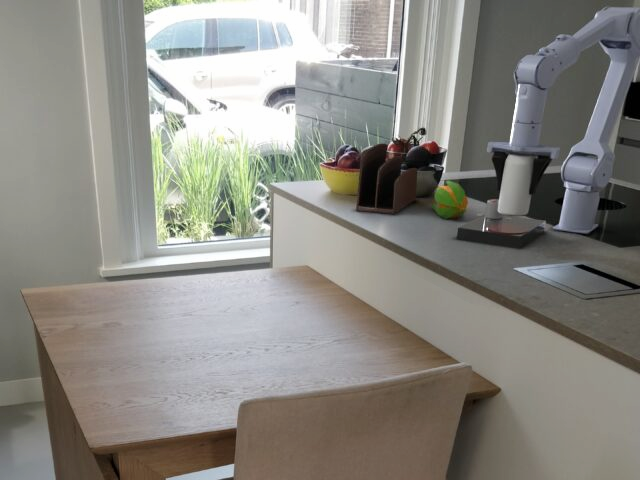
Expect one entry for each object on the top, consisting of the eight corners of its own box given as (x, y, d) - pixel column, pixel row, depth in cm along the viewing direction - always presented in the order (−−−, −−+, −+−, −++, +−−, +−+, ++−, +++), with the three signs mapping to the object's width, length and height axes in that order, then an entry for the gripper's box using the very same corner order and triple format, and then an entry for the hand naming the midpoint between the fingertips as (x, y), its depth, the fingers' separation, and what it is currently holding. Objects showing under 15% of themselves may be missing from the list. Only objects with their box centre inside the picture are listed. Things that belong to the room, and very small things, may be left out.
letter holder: (355, 211, 206) (359, 150, 199) (379, 196, 222) (384, 139, 214) (394, 215, 203) (399, 153, 195) (416, 200, 218) (422, 142, 211)
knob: (488, 214, 193) (491, 197, 191) (505, 216, 191) (508, 199, 189) (482, 217, 190) (485, 200, 188) (499, 219, 188) (502, 202, 186)
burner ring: (494, 222, 186) (494, 221, 186) (534, 227, 182) (534, 227, 182) (480, 230, 180) (480, 229, 179) (521, 236, 175) (521, 235, 175)
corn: (445, 188, 192) (426, 172, 209) (438, 222, 196) (421, 204, 213) (476, 190, 193) (455, 175, 210) (469, 224, 197) (449, 206, 214)
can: (525, 210, 181) (535, 151, 175) (530, 217, 176) (541, 156, 169) (495, 209, 182) (504, 150, 175) (499, 216, 176) (509, 155, 170)
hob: (481, 222, 197) (483, 211, 195) (544, 231, 190) (547, 219, 188) (451, 238, 183) (453, 226, 182) (518, 248, 176) (520, 235, 175)
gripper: (486, 121, 170) (476, 190, 177) (557, 126, 163) (544, 199, 170) (498, 117, 175) (487, 185, 182) (567, 123, 168) (554, 193, 175)
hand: (515, 192), depth 176 cm, fingers closed on can, 6 cm apart
